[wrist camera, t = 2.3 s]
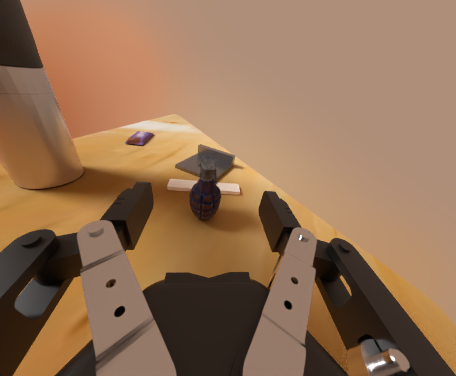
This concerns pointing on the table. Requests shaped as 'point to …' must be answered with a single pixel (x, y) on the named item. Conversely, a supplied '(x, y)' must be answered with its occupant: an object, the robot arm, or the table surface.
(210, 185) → the hand grenade
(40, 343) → the table surface
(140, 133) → the snack package
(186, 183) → the door edge strip
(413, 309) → the table surface
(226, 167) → the plate
